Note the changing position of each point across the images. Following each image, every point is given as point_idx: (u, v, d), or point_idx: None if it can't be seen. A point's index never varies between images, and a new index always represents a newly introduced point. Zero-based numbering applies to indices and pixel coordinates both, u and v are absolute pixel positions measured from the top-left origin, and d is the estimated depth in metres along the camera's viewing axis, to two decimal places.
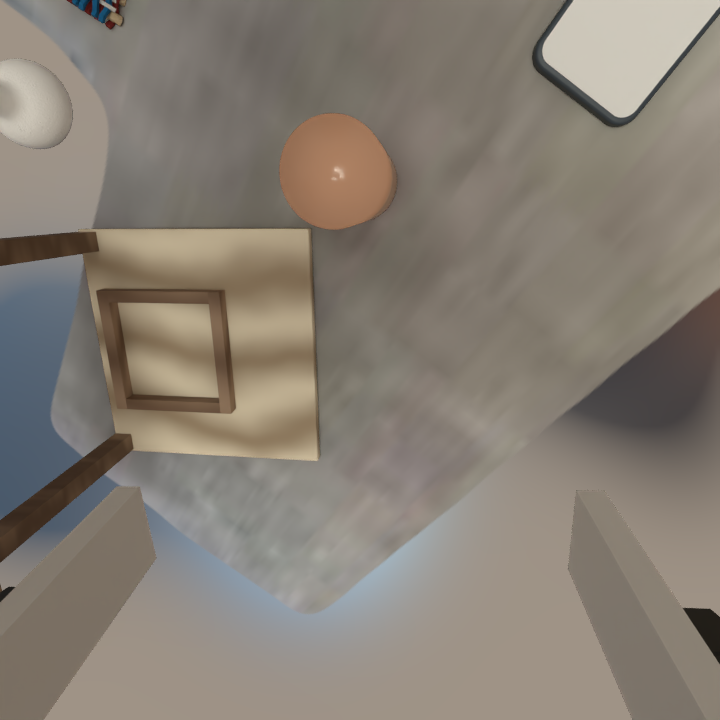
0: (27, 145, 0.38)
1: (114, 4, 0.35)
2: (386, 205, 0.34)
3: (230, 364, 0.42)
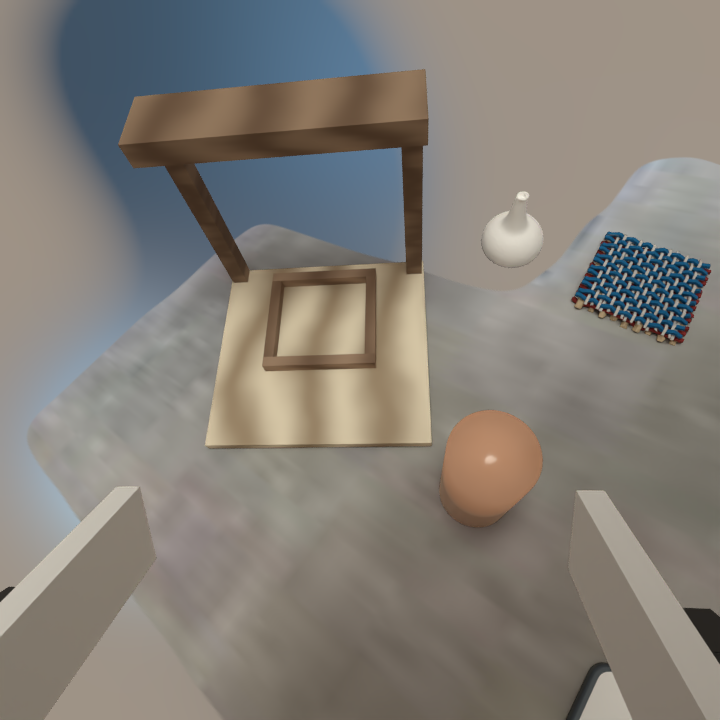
0: (484, 234, 0.51)
1: (589, 303, 0.47)
2: (458, 513, 0.37)
3: (308, 368, 0.47)
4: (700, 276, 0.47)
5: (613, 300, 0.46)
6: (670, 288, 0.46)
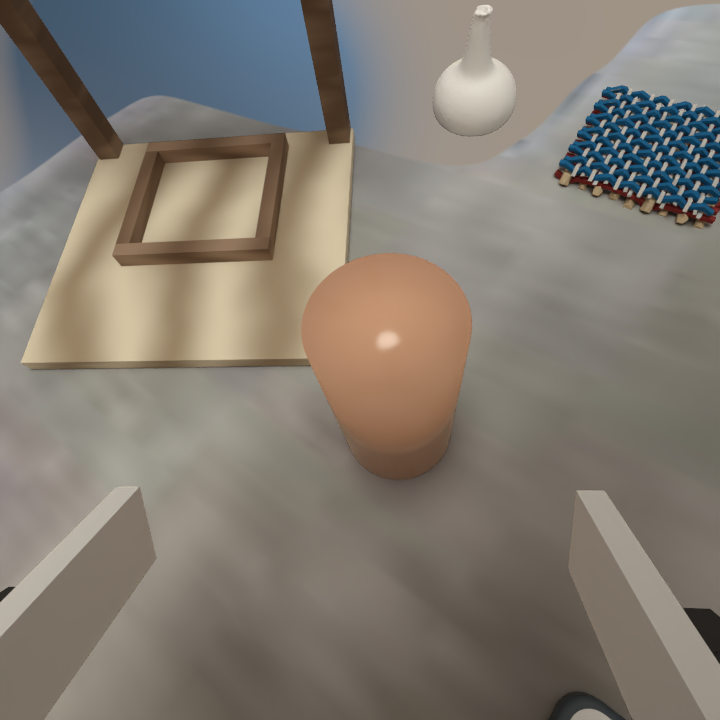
0: (435, 89, 0.37)
1: (578, 177, 0.33)
2: (359, 451, 0.23)
3: (178, 261, 0.33)
4: None
5: (613, 168, 0.32)
6: (695, 151, 0.32)
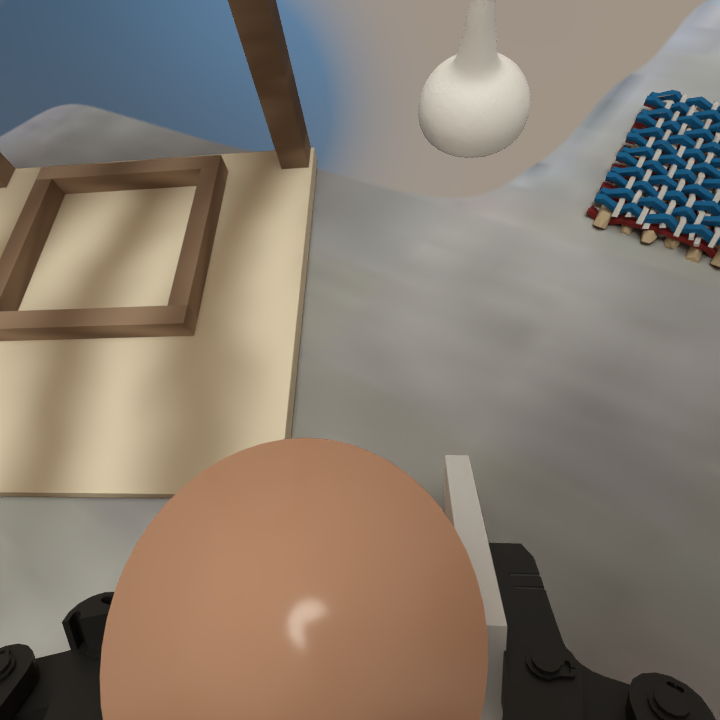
0: (421, 95, 0.27)
1: (621, 217, 0.24)
2: None
3: (63, 336, 0.24)
4: None
5: (672, 206, 0.23)
6: None
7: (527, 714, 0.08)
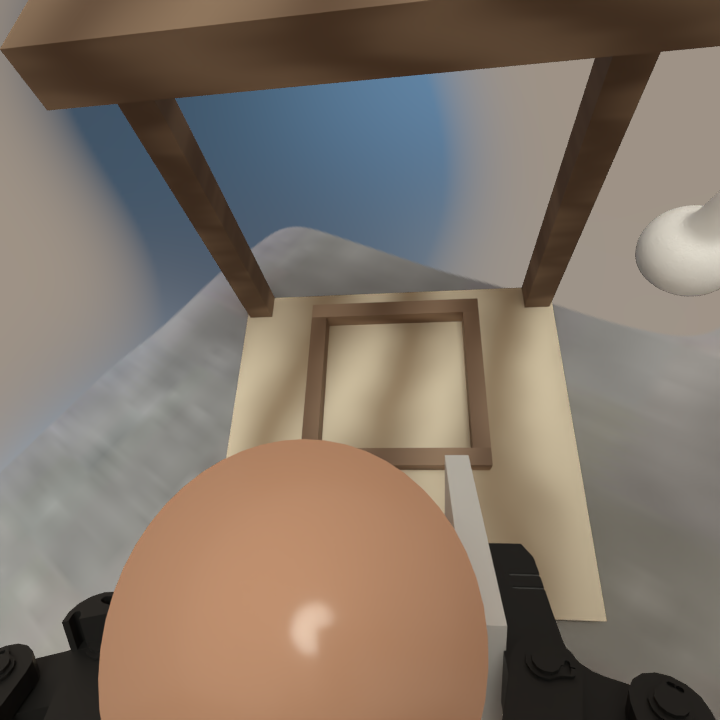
0: (645, 243, 0.32)
1: None
2: None
3: None
4: None
5: None
6: None
7: (527, 714, 0.08)
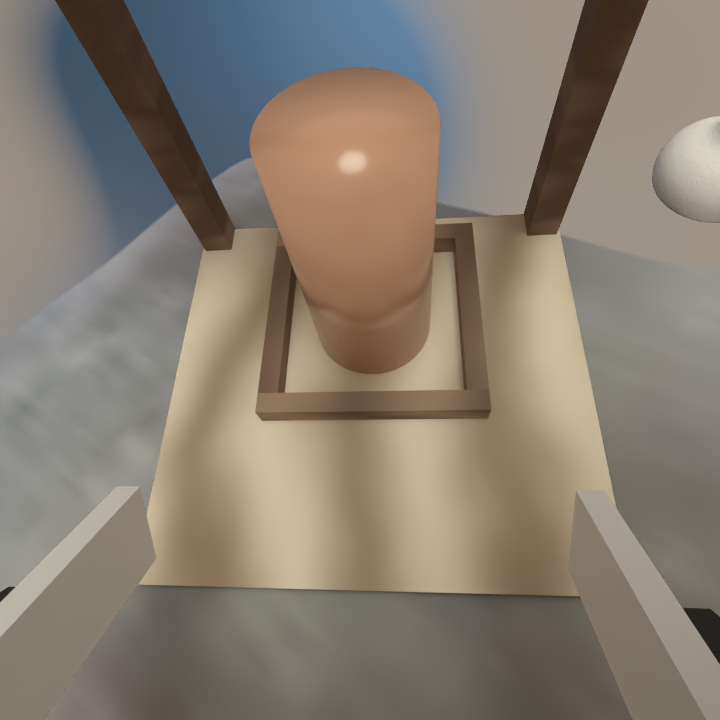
0: (666, 160, 0.27)
1: None
2: (327, 329, 0.21)
3: (349, 417, 0.23)
4: None
5: None
6: None
7: None
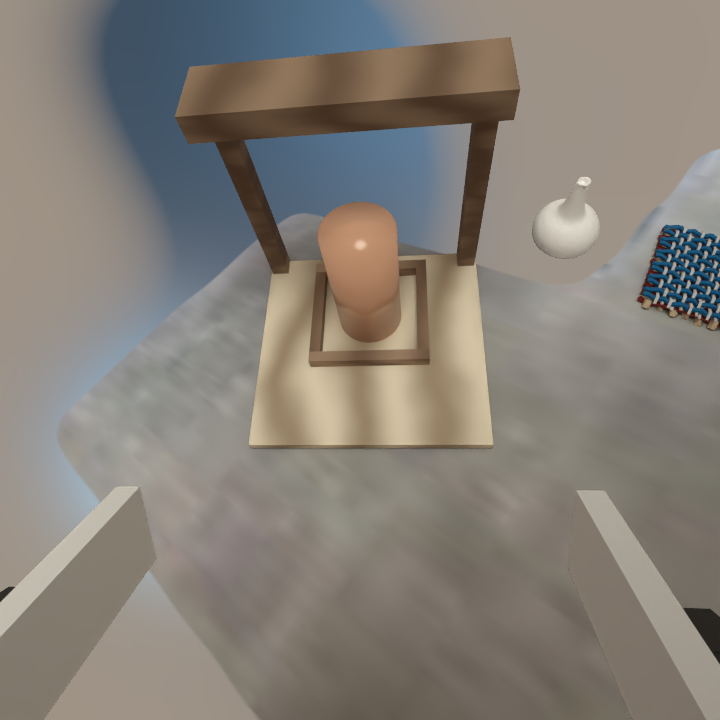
0: (536, 223, 0.48)
1: (657, 302, 0.44)
2: (346, 317, 0.42)
3: (357, 364, 0.44)
4: None
5: (685, 297, 0.43)
6: None
7: None
